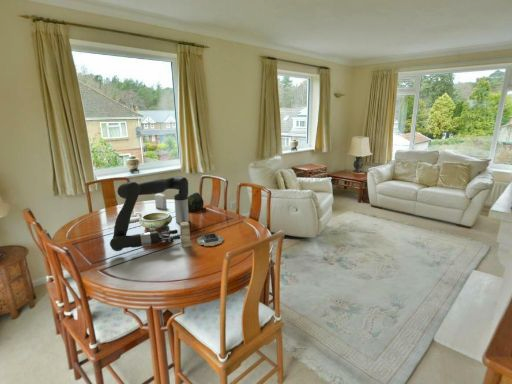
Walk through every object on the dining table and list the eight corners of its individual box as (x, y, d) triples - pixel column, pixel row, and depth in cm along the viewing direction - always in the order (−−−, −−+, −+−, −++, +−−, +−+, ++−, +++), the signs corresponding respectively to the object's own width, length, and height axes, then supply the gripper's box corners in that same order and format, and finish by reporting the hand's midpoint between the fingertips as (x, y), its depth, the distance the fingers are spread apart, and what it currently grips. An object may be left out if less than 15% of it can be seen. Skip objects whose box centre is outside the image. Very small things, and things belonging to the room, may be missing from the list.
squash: (179, 203, 239) (188, 191, 232) (191, 199, 251) (200, 188, 245) (189, 216, 236) (199, 205, 229) (201, 212, 249) (210, 201, 242)
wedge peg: (181, 244, 176) (179, 222, 172) (188, 243, 177) (187, 221, 174) (182, 247, 172) (181, 225, 168) (190, 246, 173) (189, 224, 170)
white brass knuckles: (119, 225, 207) (114, 219, 218) (145, 220, 217) (139, 215, 229) (119, 221, 206) (114, 215, 217) (144, 215, 217) (138, 211, 228)
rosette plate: (194, 238, 184) (194, 233, 184) (218, 234, 191) (218, 229, 190) (200, 248, 170) (200, 243, 169) (226, 243, 177) (226, 238, 176)
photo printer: (167, 208, 244) (166, 193, 241) (163, 209, 241) (162, 195, 238) (158, 206, 249) (157, 192, 246) (154, 207, 246) (153, 193, 243)
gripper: (150, 237, 157) (180, 232, 164) (147, 228, 170) (176, 224, 176) (151, 250, 159) (181, 244, 166) (149, 240, 172) (177, 235, 178)
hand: (178, 234), depth 171 cm, fingers open, 8 cm apart
